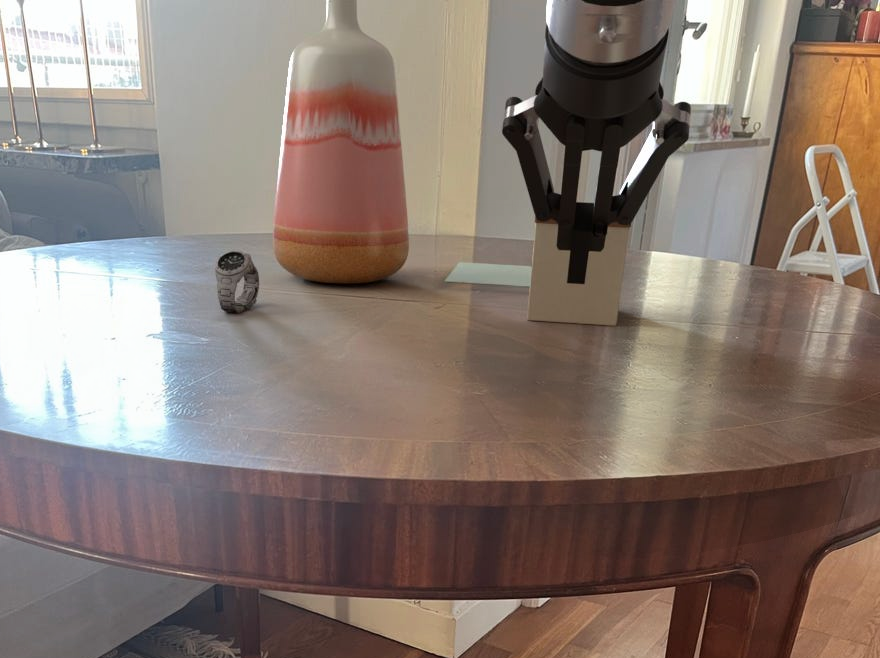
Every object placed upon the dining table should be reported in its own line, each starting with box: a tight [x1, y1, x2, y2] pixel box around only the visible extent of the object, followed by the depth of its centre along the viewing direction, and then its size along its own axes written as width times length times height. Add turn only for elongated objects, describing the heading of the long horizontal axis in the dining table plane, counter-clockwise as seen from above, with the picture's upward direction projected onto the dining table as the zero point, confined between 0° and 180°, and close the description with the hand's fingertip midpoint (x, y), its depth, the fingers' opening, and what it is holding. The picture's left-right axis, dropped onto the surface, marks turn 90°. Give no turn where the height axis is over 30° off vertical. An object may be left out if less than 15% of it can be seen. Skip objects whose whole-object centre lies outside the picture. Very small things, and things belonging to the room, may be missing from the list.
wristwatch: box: [214, 250, 260, 314], centre depth 86 cm, size 4×6×5 cm, turn 164°
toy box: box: [526, 216, 632, 327], centre depth 87 cm, size 8×8×9 cm
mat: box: [443, 261, 532, 288], centre depth 108 cm, size 18×14×1 cm
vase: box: [272, 0, 410, 285], centre depth 96 cm, size 14×14×30 cm
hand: (577, 269), depth 81 cm, fingers closed
